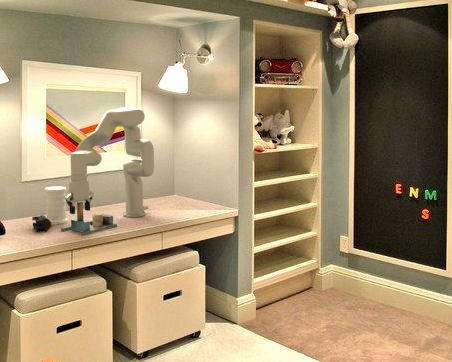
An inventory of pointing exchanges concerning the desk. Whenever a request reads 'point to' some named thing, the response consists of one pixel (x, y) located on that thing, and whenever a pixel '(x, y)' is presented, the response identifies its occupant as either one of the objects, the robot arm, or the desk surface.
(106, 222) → the vise frame
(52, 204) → the decorative container
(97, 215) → the beige cylinder
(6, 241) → the desk surface
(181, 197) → the desk surface
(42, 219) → the end cap
